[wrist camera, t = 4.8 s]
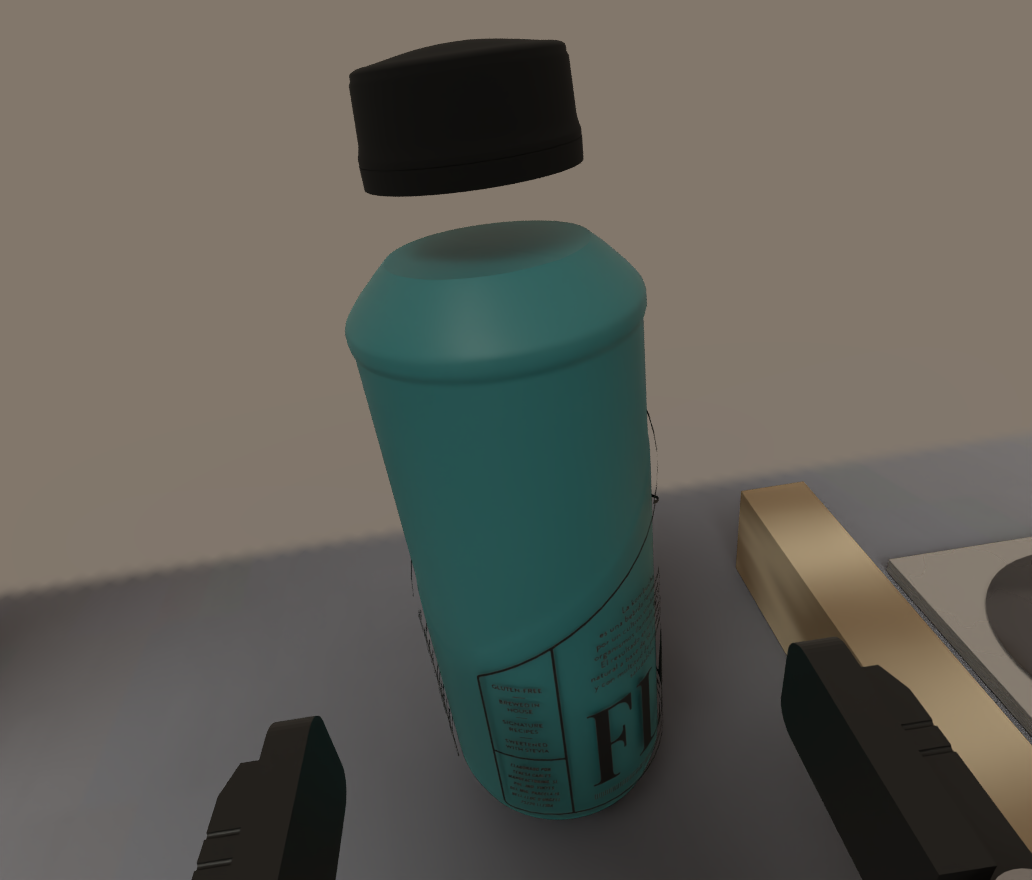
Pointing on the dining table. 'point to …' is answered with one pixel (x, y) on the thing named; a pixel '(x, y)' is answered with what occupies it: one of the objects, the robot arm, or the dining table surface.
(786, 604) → the sill
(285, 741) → the robot arm
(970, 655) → the plate
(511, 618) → the beverage bottle
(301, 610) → the dining table surface
